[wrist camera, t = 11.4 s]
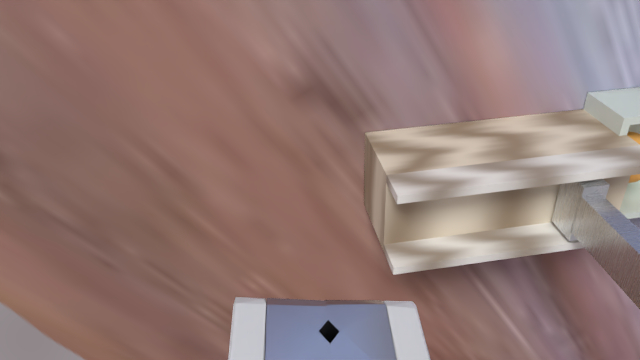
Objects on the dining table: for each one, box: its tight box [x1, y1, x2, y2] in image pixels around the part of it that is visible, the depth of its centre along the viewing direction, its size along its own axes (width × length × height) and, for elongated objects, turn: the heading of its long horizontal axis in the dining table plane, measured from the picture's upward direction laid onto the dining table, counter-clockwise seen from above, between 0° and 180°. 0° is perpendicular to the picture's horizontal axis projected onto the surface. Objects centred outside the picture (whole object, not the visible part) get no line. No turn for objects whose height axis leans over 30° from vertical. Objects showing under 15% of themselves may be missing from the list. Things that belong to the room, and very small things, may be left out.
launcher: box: [364, 109, 640, 275], centre depth 40 cm, size 18×6×8 cm, turn 92°
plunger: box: [552, 179, 640, 309], centre depth 33 cm, size 3×4×15 cm, turn 2°
